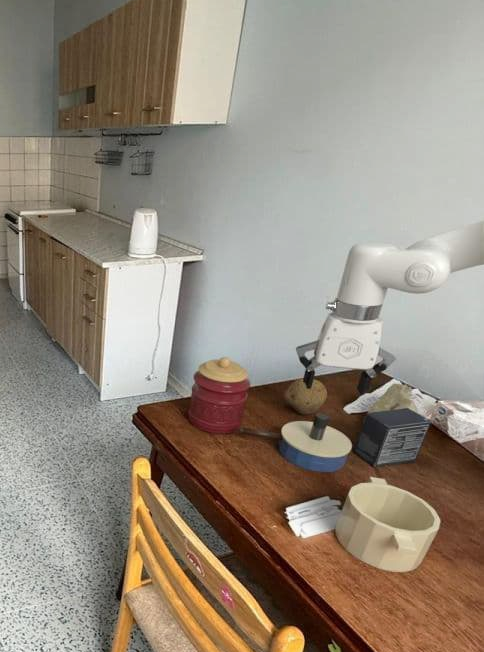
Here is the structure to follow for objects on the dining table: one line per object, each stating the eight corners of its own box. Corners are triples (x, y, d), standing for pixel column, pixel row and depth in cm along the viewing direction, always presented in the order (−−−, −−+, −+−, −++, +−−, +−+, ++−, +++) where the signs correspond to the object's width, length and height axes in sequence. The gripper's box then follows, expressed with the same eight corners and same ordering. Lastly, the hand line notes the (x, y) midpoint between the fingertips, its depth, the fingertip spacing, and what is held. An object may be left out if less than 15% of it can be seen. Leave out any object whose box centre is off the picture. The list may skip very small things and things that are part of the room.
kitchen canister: (203, 438, 113) (215, 372, 105) (178, 411, 124) (187, 349, 116) (251, 431, 115) (267, 366, 107) (222, 405, 126) (234, 344, 118)
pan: (338, 443, 110) (343, 428, 108) (350, 477, 99) (356, 462, 97) (275, 433, 114) (279, 419, 112) (280, 465, 103) (285, 450, 101)
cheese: (392, 453, 110) (455, 414, 106) (373, 429, 109) (435, 389, 106) (358, 435, 124) (412, 401, 121) (341, 414, 124) (394, 379, 121)
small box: (391, 445, 109) (407, 406, 104) (416, 462, 103) (434, 421, 98) (351, 450, 107) (365, 411, 102) (374, 468, 102) (390, 427, 97)
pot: (402, 517, 88) (419, 481, 84) (438, 594, 74) (460, 555, 70) (327, 502, 92) (339, 468, 88) (345, 573, 78) (361, 535, 74)
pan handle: (282, 438, 108) (284, 432, 107) (283, 442, 107) (284, 436, 106) (237, 431, 111) (239, 425, 110) (237, 434, 110) (239, 429, 109)
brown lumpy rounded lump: (280, 417, 121) (289, 382, 116) (281, 402, 128) (289, 368, 123) (320, 425, 117) (331, 389, 112) (319, 408, 124) (329, 374, 119)
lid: (343, 430, 109) (352, 405, 105) (357, 465, 97) (367, 438, 94) (277, 420, 113) (284, 396, 110) (283, 452, 101) (290, 427, 98)
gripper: (308, 312, 90) (289, 391, 98) (416, 319, 85) (387, 403, 93) (303, 301, 96) (286, 376, 104) (403, 307, 91) (377, 386, 99)
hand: (333, 389), depth 98 cm, fingers open, 9 cm apart
